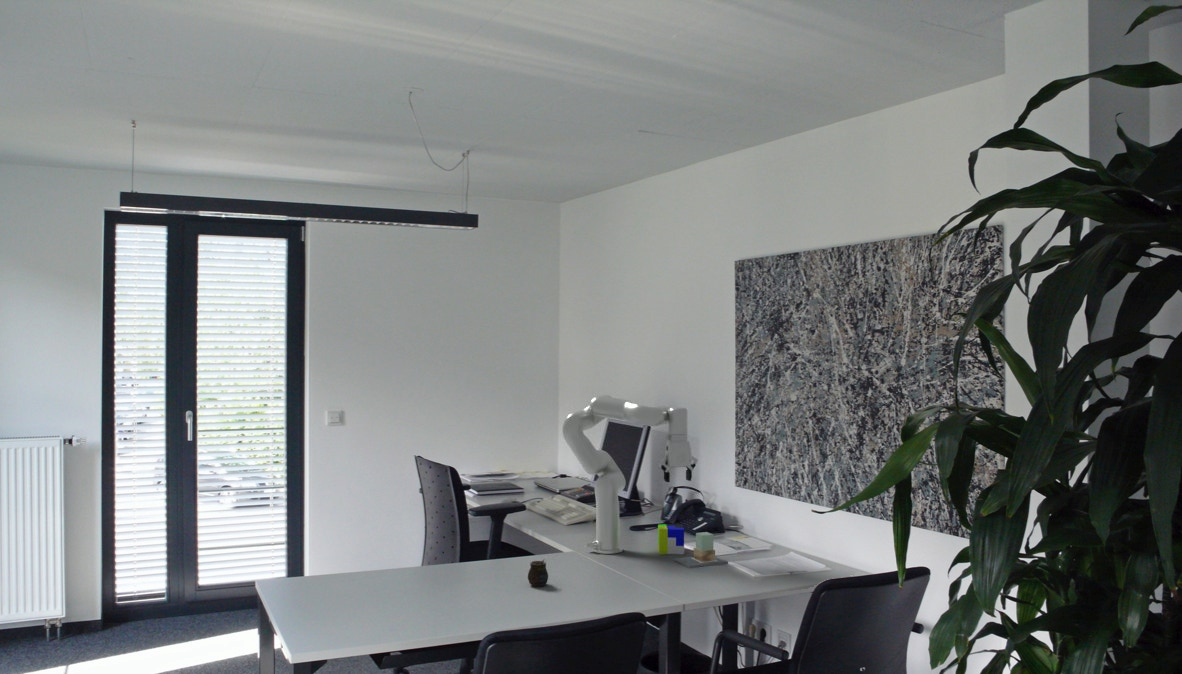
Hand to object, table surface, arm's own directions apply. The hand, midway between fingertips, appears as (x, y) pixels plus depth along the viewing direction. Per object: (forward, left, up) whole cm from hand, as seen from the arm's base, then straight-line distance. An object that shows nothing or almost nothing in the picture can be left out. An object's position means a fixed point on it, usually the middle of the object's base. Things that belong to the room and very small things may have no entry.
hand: (677, 481), depth 350 cm
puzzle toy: (+2, +10, -31) cm, 32 cm away
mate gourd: (-65, -19, -31) cm, 74 cm away
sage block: (+6, -11, -25) cm, 28 cm away
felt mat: (+5, -11, -30) cm, 33 cm away
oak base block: (+6, -11, -29) cm, 32 cm away
